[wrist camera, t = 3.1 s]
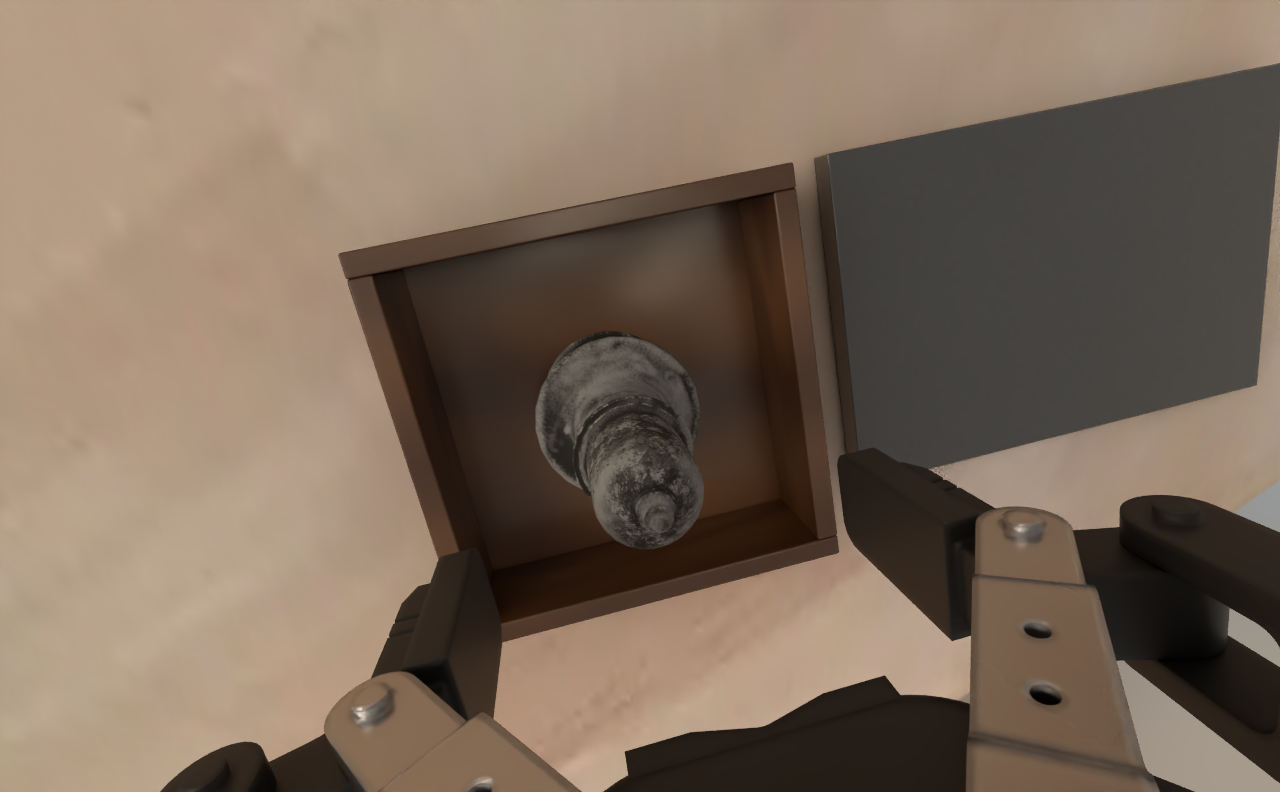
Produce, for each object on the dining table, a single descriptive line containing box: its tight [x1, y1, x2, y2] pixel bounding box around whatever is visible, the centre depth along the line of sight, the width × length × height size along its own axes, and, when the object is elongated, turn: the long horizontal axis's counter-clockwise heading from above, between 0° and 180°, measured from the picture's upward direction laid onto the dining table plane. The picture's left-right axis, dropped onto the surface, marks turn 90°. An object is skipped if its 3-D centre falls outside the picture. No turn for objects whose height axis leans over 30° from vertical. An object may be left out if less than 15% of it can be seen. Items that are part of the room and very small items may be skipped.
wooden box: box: [338, 163, 839, 642], centre depth 23 cm, size 15×15×4 cm
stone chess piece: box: [535, 331, 704, 549], centre depth 19 cm, size 6×6×12 cm
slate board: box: [814, 63, 1280, 469], centre depth 26 cm, size 14×20×1 cm
